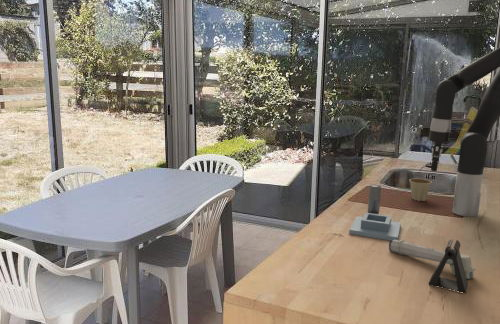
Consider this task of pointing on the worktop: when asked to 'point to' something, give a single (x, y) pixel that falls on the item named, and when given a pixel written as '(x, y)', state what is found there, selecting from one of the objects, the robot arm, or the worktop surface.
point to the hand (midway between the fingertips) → (434, 169)
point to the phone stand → (458, 267)
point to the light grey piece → (429, 255)
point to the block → (376, 226)
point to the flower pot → (419, 189)
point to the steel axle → (374, 199)
